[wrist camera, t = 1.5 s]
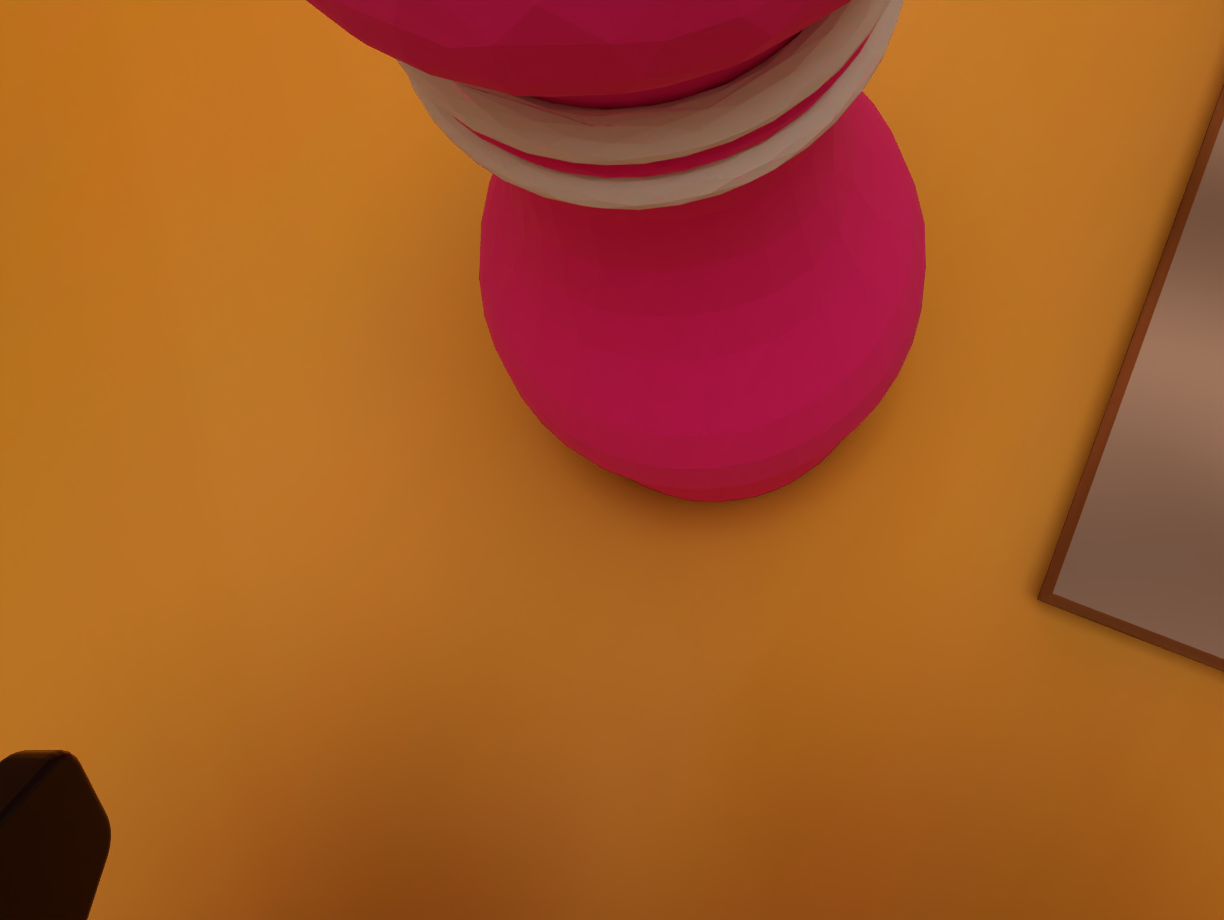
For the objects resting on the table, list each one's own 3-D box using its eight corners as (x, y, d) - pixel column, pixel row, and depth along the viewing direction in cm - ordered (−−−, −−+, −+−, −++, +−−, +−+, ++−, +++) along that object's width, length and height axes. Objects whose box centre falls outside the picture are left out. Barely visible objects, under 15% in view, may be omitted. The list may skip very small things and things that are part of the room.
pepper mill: (876, 165, 23) (1345, -2516, 4) (919, 511, 22) (2082, -1114, 2) (532, 208, 24) (-474, -1784, 5) (549, 543, 23) (-852, -425, 3)
